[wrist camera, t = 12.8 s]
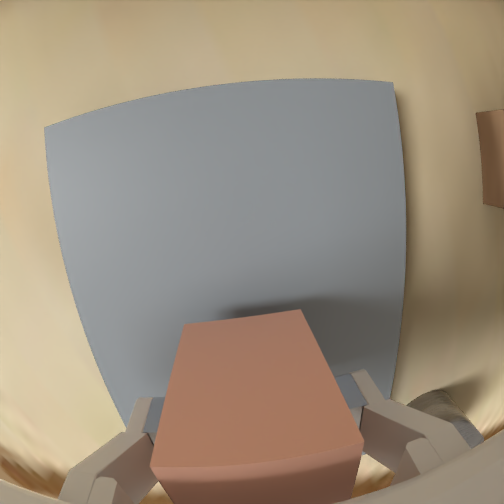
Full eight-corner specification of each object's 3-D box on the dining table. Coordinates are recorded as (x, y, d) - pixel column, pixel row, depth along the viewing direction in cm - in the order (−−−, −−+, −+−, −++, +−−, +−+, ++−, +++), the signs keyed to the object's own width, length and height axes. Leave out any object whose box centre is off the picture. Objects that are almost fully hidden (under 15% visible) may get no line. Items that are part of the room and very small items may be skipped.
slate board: (159, 462, 16) (156, 479, 15) (61, 130, 11) (44, 127, 9) (369, 435, 17) (377, 450, 15) (377, 89, 11) (392, 82, 10)
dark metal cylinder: (383, 449, 17) (408, 498, 12) (395, 403, 16) (430, 457, 11) (439, 427, 17) (468, 468, 13) (455, 380, 16) (494, 423, 11)
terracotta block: (206, 407, 11) (199, 536, 5) (184, 324, 10) (149, 466, 4) (304, 395, 11) (344, 518, 6) (300, 309, 10) (364, 441, 5)
